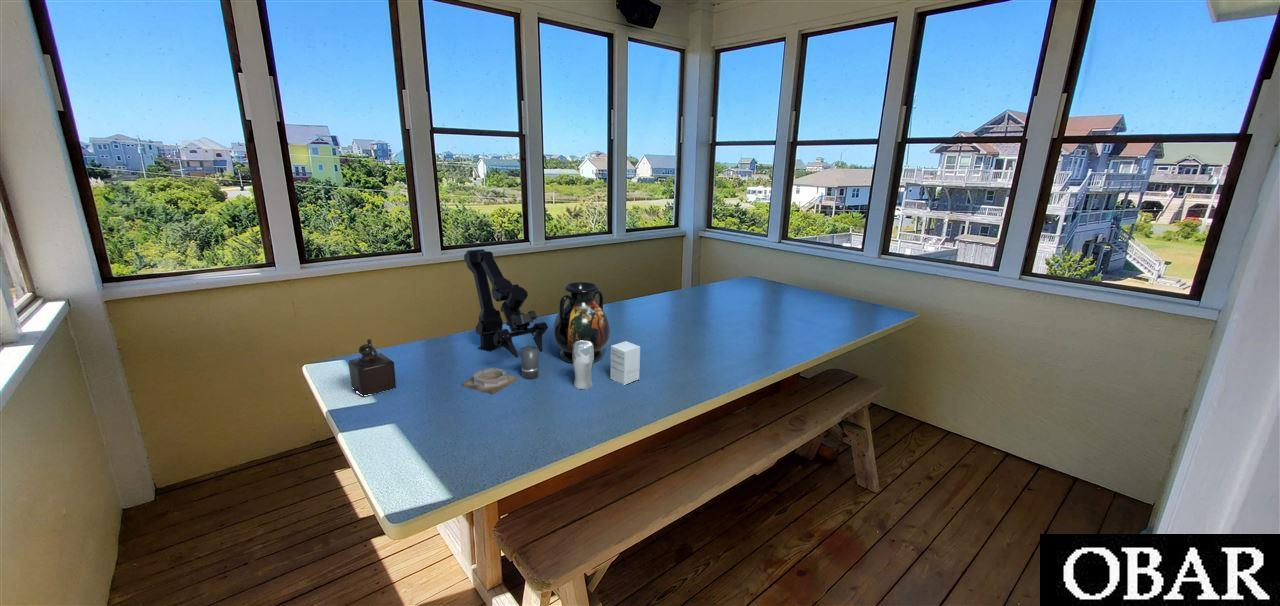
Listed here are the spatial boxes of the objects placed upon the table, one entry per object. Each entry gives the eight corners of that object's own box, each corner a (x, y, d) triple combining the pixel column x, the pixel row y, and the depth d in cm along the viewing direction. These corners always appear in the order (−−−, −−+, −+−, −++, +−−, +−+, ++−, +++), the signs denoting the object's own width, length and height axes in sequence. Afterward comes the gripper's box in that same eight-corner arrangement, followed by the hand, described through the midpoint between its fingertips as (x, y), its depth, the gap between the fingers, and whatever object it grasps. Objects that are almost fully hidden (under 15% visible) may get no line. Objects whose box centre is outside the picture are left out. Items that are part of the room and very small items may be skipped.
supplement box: (625, 374, 181) (626, 340, 178) (639, 380, 176) (641, 346, 173) (609, 379, 176) (610, 345, 173) (624, 386, 171) (625, 351, 168)
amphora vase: (574, 372, 181) (574, 296, 173) (542, 354, 196) (541, 283, 189) (621, 359, 195) (623, 287, 187) (588, 343, 210) (588, 276, 203)
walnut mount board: (462, 385, 168) (462, 377, 167) (488, 372, 179) (488, 364, 178) (492, 394, 163) (492, 385, 162) (517, 379, 174) (517, 371, 173)
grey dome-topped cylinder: (518, 377, 176) (517, 350, 173) (528, 371, 181) (527, 344, 178) (532, 380, 173) (531, 353, 171) (541, 374, 178) (541, 347, 176)
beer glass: (589, 391, 167) (590, 348, 163) (569, 389, 168) (569, 346, 164) (596, 382, 173) (596, 341, 169) (576, 380, 175) (576, 339, 171)
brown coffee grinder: (348, 388, 163) (341, 334, 158) (384, 378, 171) (378, 327, 166) (367, 404, 153) (360, 348, 148) (404, 393, 161) (399, 339, 156)
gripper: (494, 307, 169) (511, 349, 163) (544, 299, 180) (561, 337, 175) (486, 324, 176) (501, 364, 171) (534, 315, 188) (550, 352, 183)
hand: (529, 354), depth 175 cm, fingers open, 9 cm apart
